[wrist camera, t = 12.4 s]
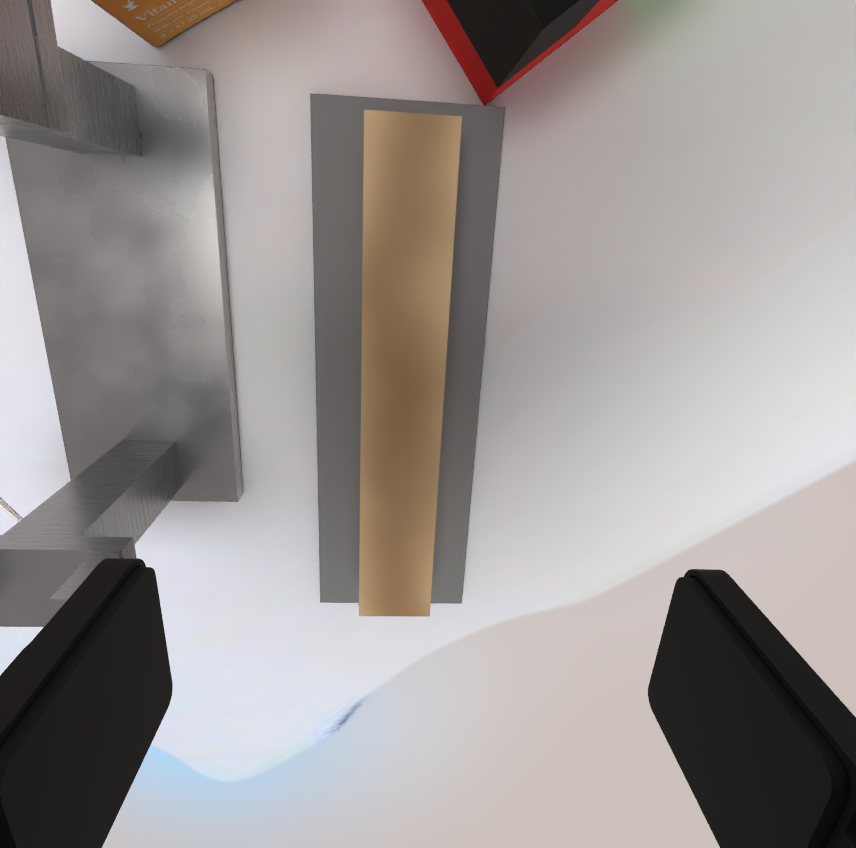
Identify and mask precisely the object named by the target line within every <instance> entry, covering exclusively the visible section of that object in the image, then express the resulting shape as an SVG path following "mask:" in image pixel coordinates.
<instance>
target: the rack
mask: <svg viewBox="0 0 856 848" xmlns="http://www.w3.org/2000/svg"><path fill="white" fill-rule="evenodd" d="M0 136H4V137H5V138H6V143H7V148H8V153H9V159H10V164H11V169H12V174H13V180H14V185H15V190H16V195H17V201H18V206H19V211H20V216H21V221H22V227H23V232H24V237H25V242H26V248H27V253H28V258H29V263H30V269H31V274H32V279H33V284H34V289H35V295H36V300H37V305H38V310H39V316H40V321H41V326H42V331H43V336H44V342H45V347H46V352H47V357H48V363H49V368H50V373H51V378H52V384H53V389H54V394H55V399H56V404H57V410H58V415H59V420H60V425H61V431H62V436H63V441H64V446H65V452H66V457H67V462H68V467H69V472H70V478H71V481H70V482H69V483H67V484H66V485H65V486H64V487H62V488H61V489H60V490H59V491H57V492H56V493H55V494H54V495H52V496H51V497H50V498H49V499H47V500H46V501H45V502H44V503H42V504H41V505H40V506H39V507H37V508H36V509H35V510H33V511H32V512H31V513H30V514H28V515H27V516H26V517H25V518H23V519H22V520H21V521H20V522H18V523H17V524H16V525H15V526H13V527H12V528H11V529H10V530H8V531H7V532H6V533H5V534H3V535H0V626H4V627H45V625H46V624H47V623H48V622H49V621H50V620H51V618H52V617H53V616H54V615H55V614H56V613H57V611H58V610H59V609H60V608H61V607H62V606H63V604H64V603H65V602H66V601H67V600H68V599H69V598H70V596H71V595H72V594H73V593H74V592H75V591H76V589H77V588H78V587H79V586H80V585H81V584H82V582H83V581H84V580H85V579H86V578H87V577H88V575H89V574H90V573H91V572H92V571H93V570H94V569H95V567H96V566H97V565H98V564H99V563H100V562H101V561H102V560H103V559H106V558H129V559H136V553H135V546H134V545H135V543H136V542H137V541H138V540H139V539H140V537H141V536H142V535H143V534H144V532H145V531H146V530H147V529H148V527H149V526H150V525H151V524H152V523H153V521H154V520H155V519H156V518H157V516H158V515H159V514H160V513H161V511H162V510H163V509H164V508H165V506H166V505H167V504H168V503H169V502H170V500H174V501H226V502H238V501H239V499H240V497H241V496H242V494H243V484H242V470H241V456H240V443H239V429H238V415H237V401H236V387H235V373H234V360H233V346H232V332H231V318H230V304H229V290H228V277H227V263H226V249H225V235H224V221H223V207H222V194H221V180H220V166H219V152H218V138H217V124H216V111H215V97H214V83H213V75H212V74H210V73H209V72H208V71H207V70H205V69H194V68H181V67H167V66H153V65H139V64H125V63H111V62H97V61H85V60H83V59H81V58H79V57H77V56H75V55H73V54H72V53H70V52H68V51H66V50H64V49H62V48H60V47H58V46H57V40H56V34H55V27H54V21H53V14H52V8H51V1H50V0H0Z"/></svg>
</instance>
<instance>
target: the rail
mask: <svg viewBox="0 0 856 848" xmlns="http://www.w3.org/2000/svg"><path fill="white" fill-rule="evenodd" d="M461 124H462V116H449V115H435V114H420V113H406V112H391V111H377V110H364V170H363V266H362V362H361V457H360V553H359V616H430V603H431V587H432V572H433V556H434V541H435V525H436V510H437V494H438V479H439V464H440V448H441V433H442V417H443V402H444V386H445V371H446V355H447V340H448V324H449V309H450V294H451V278H452V263H453V247H454V232H455V216H456V201H457V185H458V170H459V155H460V139H461Z"/></svg>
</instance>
